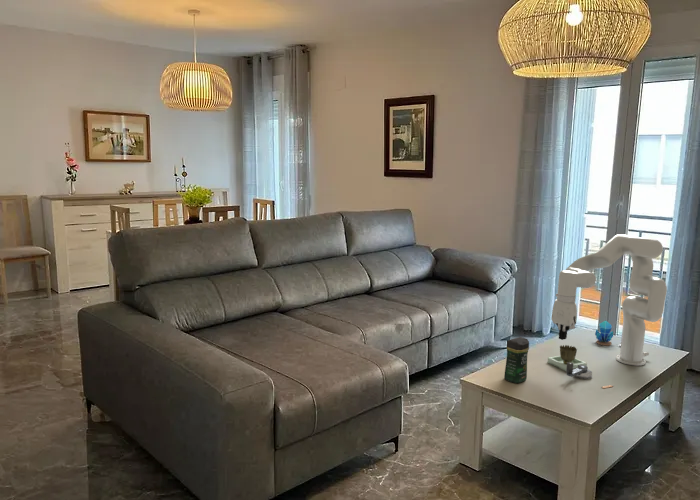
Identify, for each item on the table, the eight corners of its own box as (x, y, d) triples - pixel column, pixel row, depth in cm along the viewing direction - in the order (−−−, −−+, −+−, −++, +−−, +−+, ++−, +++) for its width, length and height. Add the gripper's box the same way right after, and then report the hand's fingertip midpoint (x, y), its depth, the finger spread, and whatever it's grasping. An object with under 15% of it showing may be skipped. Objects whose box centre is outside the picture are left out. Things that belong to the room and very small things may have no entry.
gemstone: (594, 340, 289) (596, 318, 287) (612, 342, 286) (614, 320, 284) (594, 344, 282) (596, 322, 280) (612, 346, 279) (615, 324, 277)
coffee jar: (517, 385, 228) (520, 343, 225) (501, 379, 234) (503, 338, 231) (530, 379, 234) (532, 338, 232) (514, 374, 240) (516, 334, 238)
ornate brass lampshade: (577, 367, 248) (578, 350, 247) (560, 366, 249) (561, 349, 248) (573, 361, 255) (575, 345, 254) (557, 360, 257) (558, 344, 255)
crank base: (568, 373, 242) (568, 369, 242) (581, 371, 245) (582, 366, 245) (582, 380, 235) (582, 375, 235) (595, 377, 238) (596, 373, 238)
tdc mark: (610, 385, 229) (610, 385, 229) (612, 386, 228) (612, 386, 228) (601, 387, 227) (601, 386, 227) (604, 388, 226) (604, 387, 226)
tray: (566, 359, 260) (567, 354, 260) (586, 368, 249) (587, 362, 249) (547, 362, 255) (547, 357, 255) (566, 371, 244) (567, 366, 244)
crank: (580, 368, 242) (581, 355, 242) (589, 370, 239) (590, 358, 238) (563, 375, 234) (564, 362, 233) (571, 378, 231) (572, 365, 230)
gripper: (546, 295, 242) (543, 335, 244) (575, 303, 229) (571, 345, 232) (557, 294, 245) (554, 333, 248) (586, 301, 233) (582, 342, 235)
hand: (562, 338), depth 240 cm, fingers closed
